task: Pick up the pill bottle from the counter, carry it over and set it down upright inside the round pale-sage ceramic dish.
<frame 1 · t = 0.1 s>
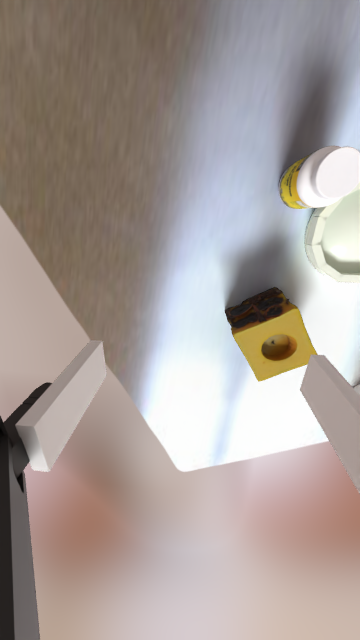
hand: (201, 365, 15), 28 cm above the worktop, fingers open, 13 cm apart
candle: (259, 319, 43), on the worktop
sage dish: (355, 231, 35), on the worktop
pill bottle: (298, 186, 34), on the worktop
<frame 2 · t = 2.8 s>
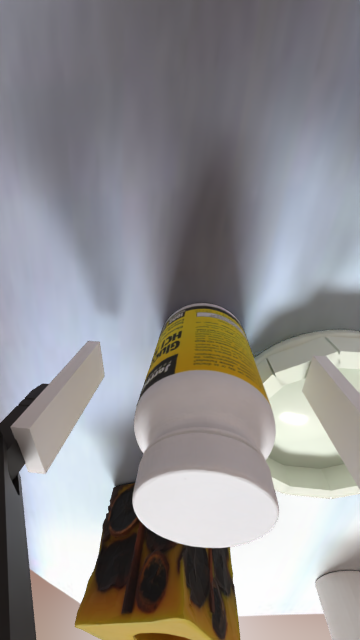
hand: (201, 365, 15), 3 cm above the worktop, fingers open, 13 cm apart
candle: (172, 497, 27), on the worktop
mug: (350, 584, 33), on the worktop
sage dish: (316, 408, 19), on the worktop
pill bottle: (201, 337, 17), on the worktop
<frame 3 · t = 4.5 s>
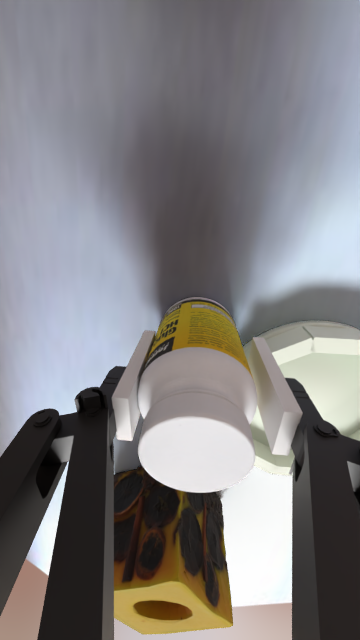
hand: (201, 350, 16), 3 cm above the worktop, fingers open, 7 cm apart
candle: (169, 484, 28), on the worktop
sage dish: (299, 394, 21), on the worktop
pill bottle: (196, 329, 19), on the worktop, touching gripper
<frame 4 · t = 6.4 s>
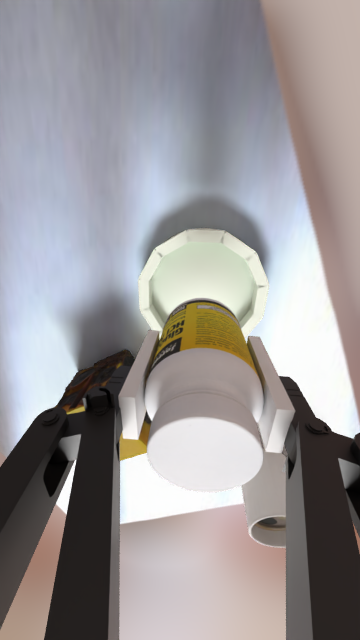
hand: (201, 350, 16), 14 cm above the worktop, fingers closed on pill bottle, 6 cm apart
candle: (120, 382, 37), on the worktop
mug: (265, 465, 42), on the worktop
sage dish: (201, 291, 29), on the worktop
pill bottle: (201, 329, 19), point 11 cm above the worktop, touching gripper
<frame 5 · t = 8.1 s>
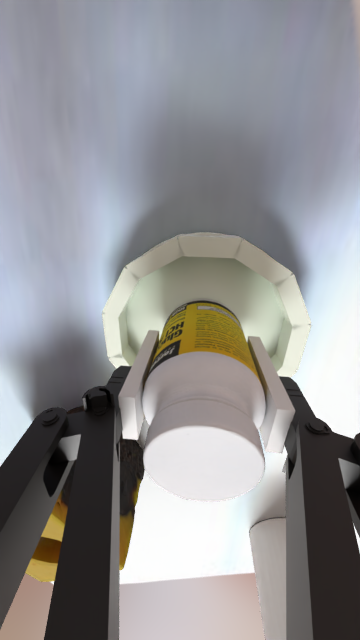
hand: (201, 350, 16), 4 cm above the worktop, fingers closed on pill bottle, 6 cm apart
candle: (92, 438, 27), on the worktop
mug: (284, 535, 33), on the worktop
sage dish: (201, 325, 19), on the worktop
pill bottle: (201, 330, 19), point 1 cm above the worktop, touching gripper, sage dish
when the fingers open (3 cm above the worktop, at t = 9.1 s): pill bottle stays where it is, resting on sage dish.
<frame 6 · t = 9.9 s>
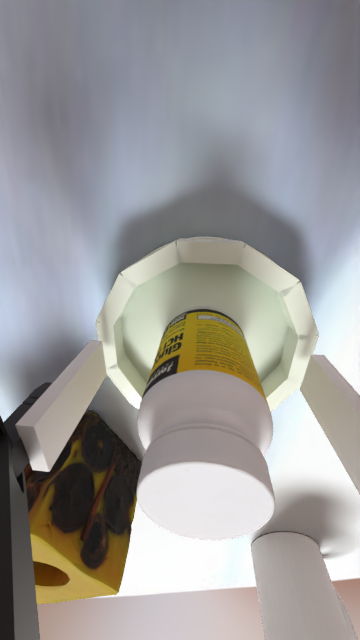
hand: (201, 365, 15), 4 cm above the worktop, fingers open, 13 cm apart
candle: (88, 449, 26), on the worktop
mug: (287, 549, 31), on the worktop
sage dish: (201, 334, 18), on the worktop
pill bottle: (202, 339, 18), point 1 cm above the worktop, touching sage dish
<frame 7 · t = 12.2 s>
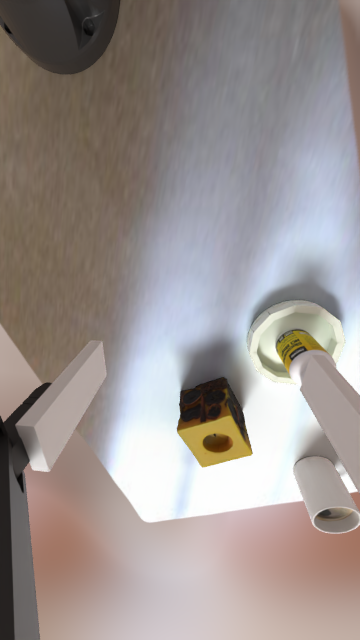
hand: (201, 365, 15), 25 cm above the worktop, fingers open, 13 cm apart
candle: (211, 400, 48), on the worktop
mug: (314, 470, 53), on the worktop
sage dish: (289, 339, 41), on the worktop
pill bottle: (291, 342, 40), point 1 cm above the worktop, touching sage dish
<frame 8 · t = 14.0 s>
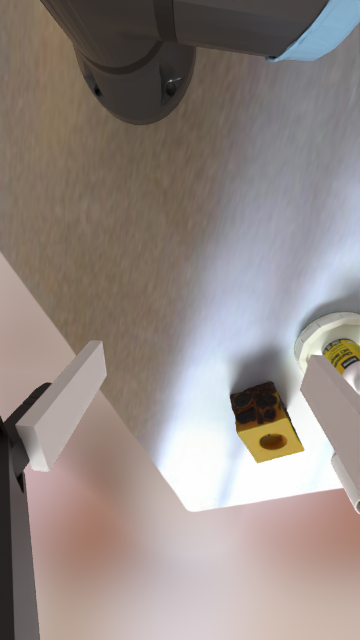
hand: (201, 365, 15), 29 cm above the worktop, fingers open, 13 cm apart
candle: (258, 402, 52), on the worktop
mug: (351, 461, 58), on the worktop
sage dish: (334, 346, 45), on the worktop
pill bottle: (336, 349, 44), point 1 cm above the worktop, touching sage dish
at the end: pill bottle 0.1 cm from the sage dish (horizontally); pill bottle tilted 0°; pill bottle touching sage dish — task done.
